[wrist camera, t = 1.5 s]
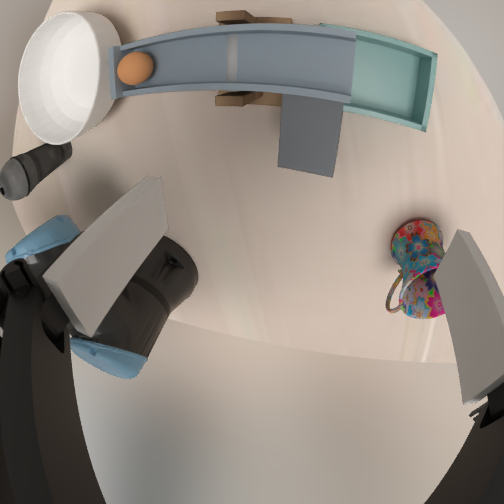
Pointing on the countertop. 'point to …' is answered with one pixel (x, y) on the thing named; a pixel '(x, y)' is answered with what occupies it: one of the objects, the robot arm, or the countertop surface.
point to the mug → (418, 269)
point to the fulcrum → (247, 96)
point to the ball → (135, 68)
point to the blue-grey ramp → (260, 77)
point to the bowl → (67, 75)
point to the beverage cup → (31, 169)
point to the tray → (391, 79)
